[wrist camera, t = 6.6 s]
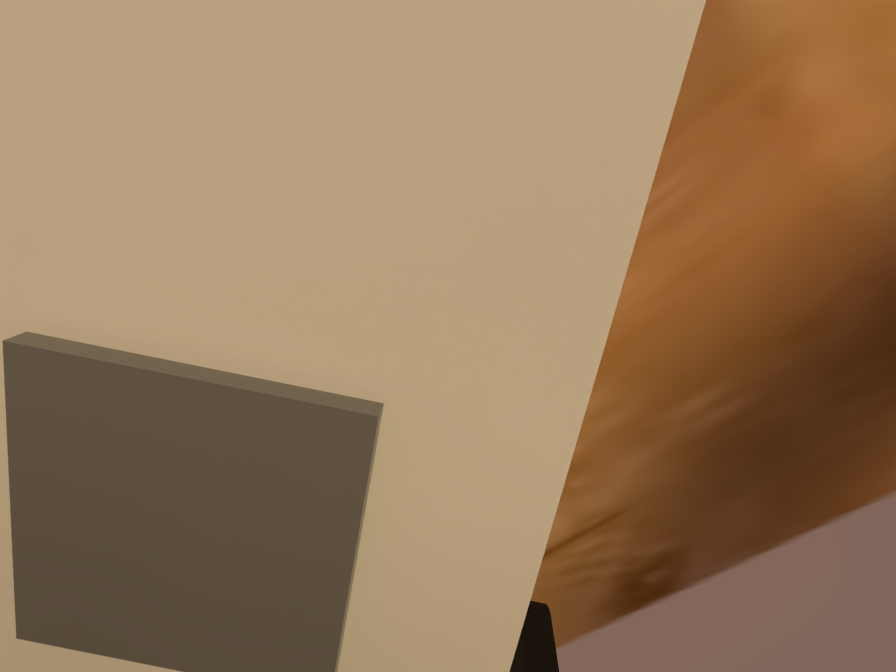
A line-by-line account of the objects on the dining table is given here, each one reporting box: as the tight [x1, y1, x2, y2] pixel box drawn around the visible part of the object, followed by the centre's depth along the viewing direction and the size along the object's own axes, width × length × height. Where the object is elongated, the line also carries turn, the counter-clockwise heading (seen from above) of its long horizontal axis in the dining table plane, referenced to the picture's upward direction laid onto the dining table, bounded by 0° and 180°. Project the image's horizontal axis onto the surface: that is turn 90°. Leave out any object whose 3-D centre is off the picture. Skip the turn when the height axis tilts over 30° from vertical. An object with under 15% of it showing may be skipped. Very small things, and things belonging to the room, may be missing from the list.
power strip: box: [0, 0, 706, 672], centre depth 8 cm, size 5×18×7 cm, turn 169°
